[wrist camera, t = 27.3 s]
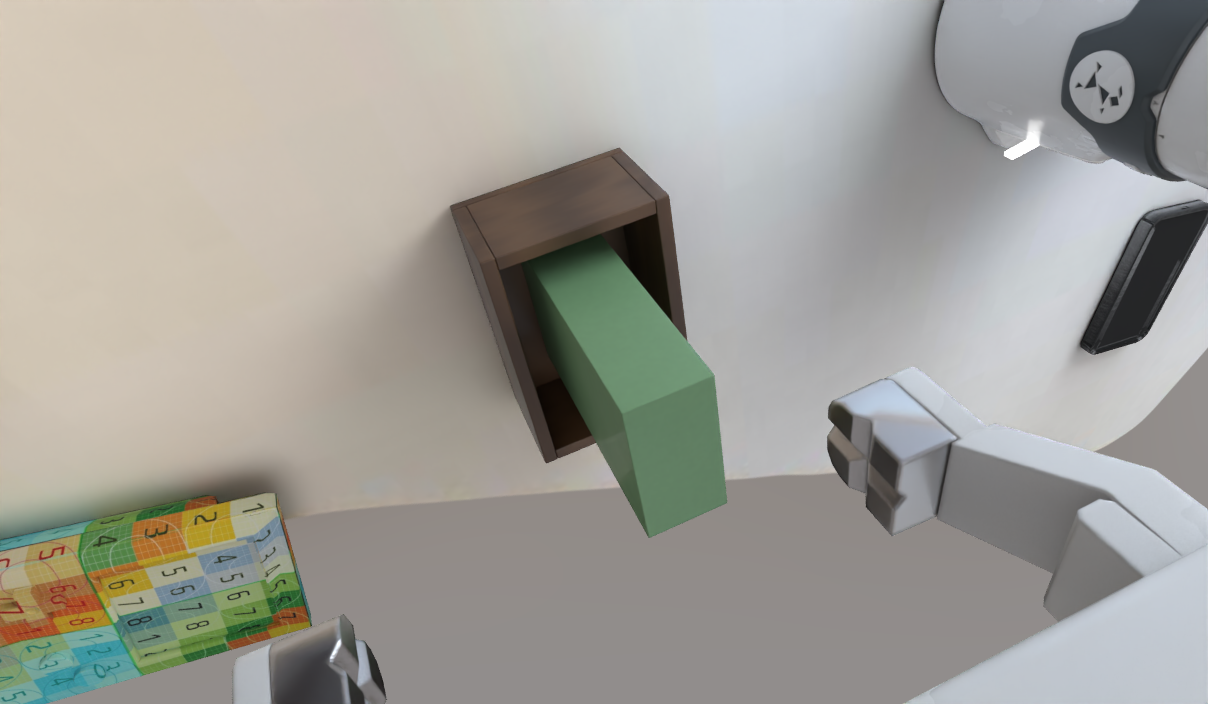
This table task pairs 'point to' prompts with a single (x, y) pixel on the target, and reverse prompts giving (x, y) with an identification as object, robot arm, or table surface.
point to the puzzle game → (143, 594)
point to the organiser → (547, 223)
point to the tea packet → (631, 382)
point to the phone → (1146, 276)
